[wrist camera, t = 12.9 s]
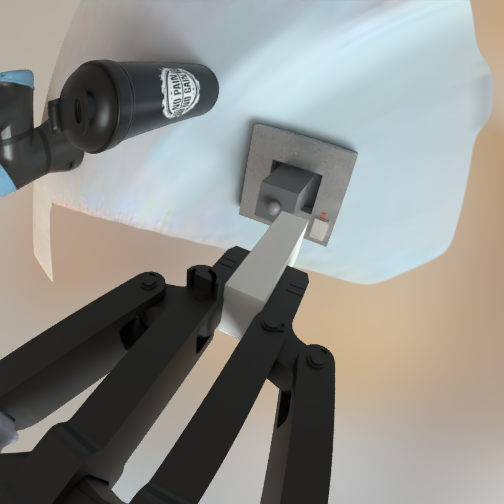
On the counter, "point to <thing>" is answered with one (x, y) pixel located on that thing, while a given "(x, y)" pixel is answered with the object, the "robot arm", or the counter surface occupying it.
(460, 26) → the counter surface
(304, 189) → the plug
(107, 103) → the water bottle
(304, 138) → the socket
